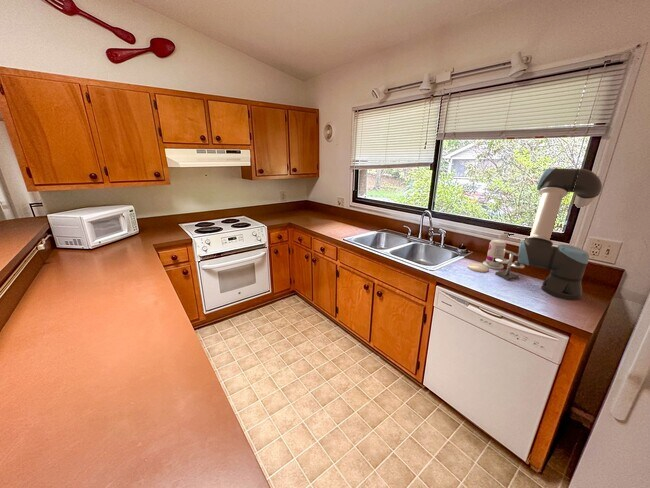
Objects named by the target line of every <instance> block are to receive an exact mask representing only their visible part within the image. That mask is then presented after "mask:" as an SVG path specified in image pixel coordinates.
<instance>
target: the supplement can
mask: <svg viewBox="0 0 650 488" xmlns="http://www.w3.org/2000/svg"><path fill="white" fill-rule="evenodd" d="M506 247H507V243H506V241H505V240H502V239H494V238H493V239H491V240H490V242H489V245H488V250H487V255H486V259H485V261H486V263H487V264H488V265H490V266H496V267H498V266H500V265H501V264H502V265H503V263H499V262H497V261H495V259H496V258H503V255H504V250H506ZM504 256H505V255H504Z"/></svg>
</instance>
